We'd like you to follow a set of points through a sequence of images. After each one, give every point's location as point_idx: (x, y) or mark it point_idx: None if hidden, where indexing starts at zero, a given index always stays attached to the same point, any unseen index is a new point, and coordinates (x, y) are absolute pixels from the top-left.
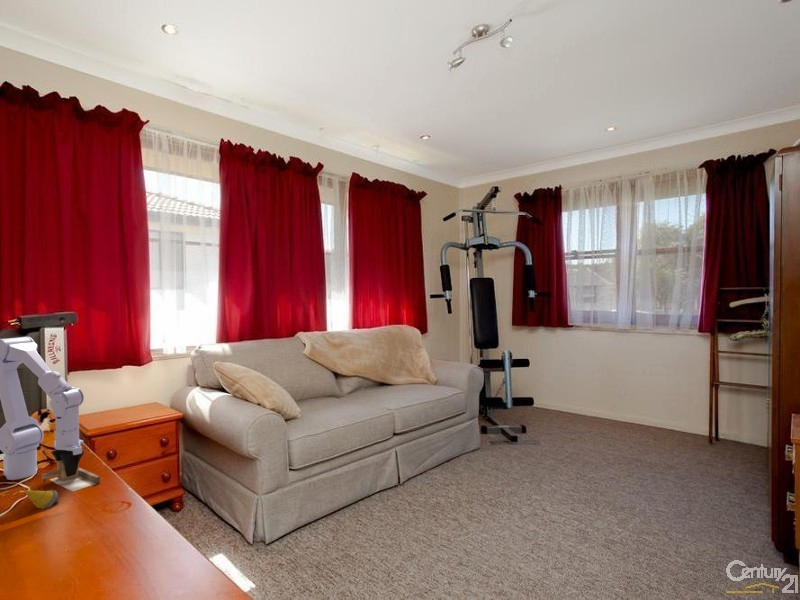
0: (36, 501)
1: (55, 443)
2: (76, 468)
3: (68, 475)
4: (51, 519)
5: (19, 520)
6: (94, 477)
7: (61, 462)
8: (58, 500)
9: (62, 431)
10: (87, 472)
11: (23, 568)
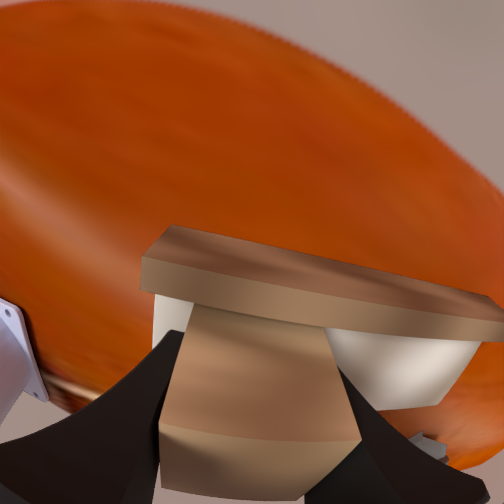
0: None
1: None
2: (353, 392)
3: None
4: (452, 442)
5: None
6: (499, 339)
7: (241, 496)
8: (442, 444)
9: None
10: (432, 326)
11: (479, 459)
